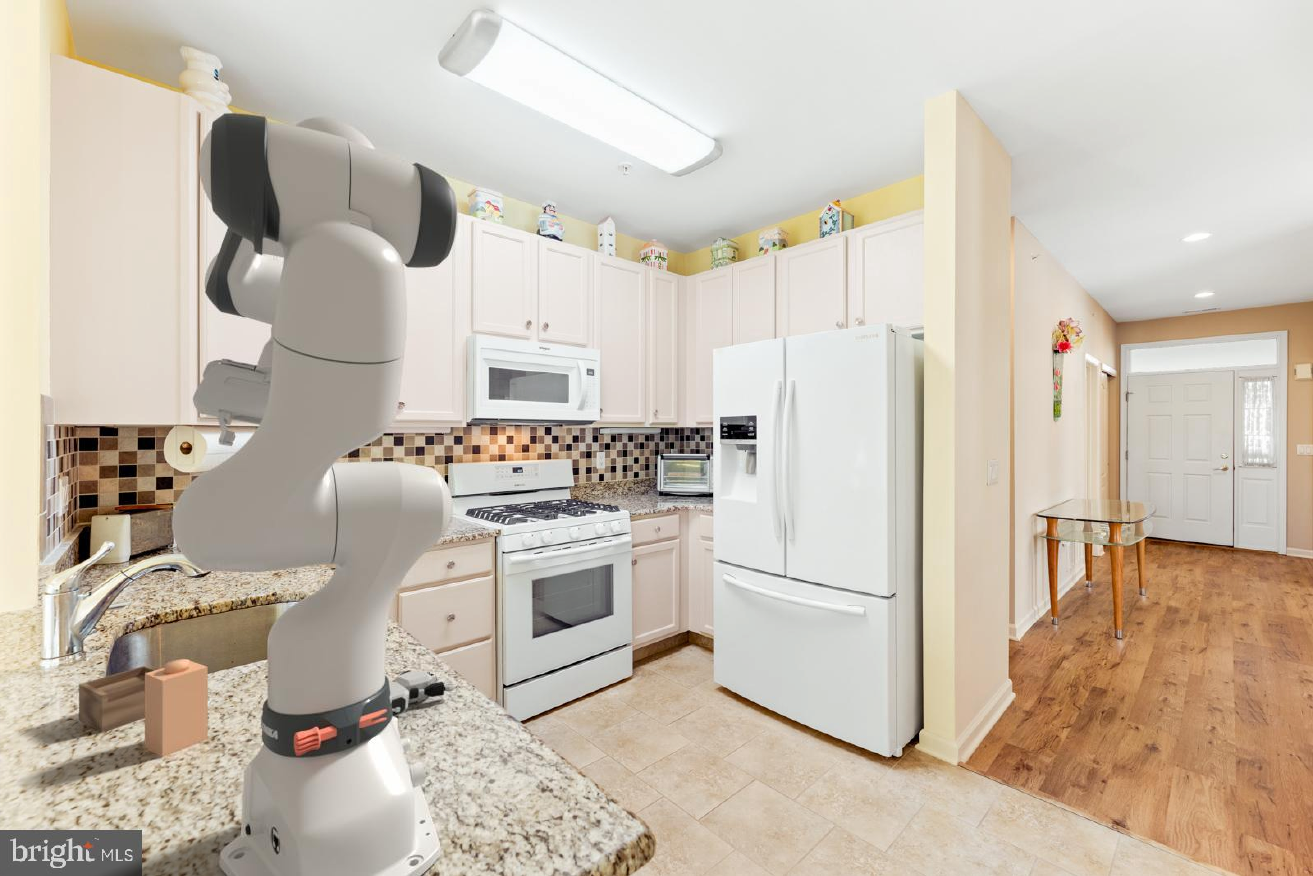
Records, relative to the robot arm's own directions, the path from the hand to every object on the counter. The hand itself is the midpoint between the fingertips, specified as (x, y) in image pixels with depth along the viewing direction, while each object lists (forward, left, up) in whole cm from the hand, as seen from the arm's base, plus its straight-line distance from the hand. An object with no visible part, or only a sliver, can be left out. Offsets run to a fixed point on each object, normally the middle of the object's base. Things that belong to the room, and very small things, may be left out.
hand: (263, 450), depth 84 cm
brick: (-1, +10, -40) cm, 41 cm away
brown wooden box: (+15, +15, -40) cm, 45 cm away
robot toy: (-11, -15, -40) cm, 44 cm away
